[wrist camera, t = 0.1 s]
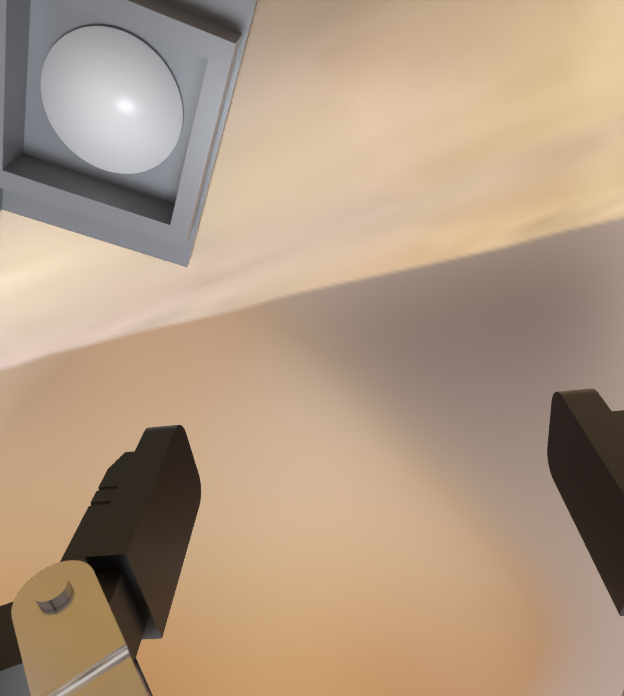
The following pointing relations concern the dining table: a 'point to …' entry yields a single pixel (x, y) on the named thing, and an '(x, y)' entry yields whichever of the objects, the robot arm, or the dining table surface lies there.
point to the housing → (117, 114)
